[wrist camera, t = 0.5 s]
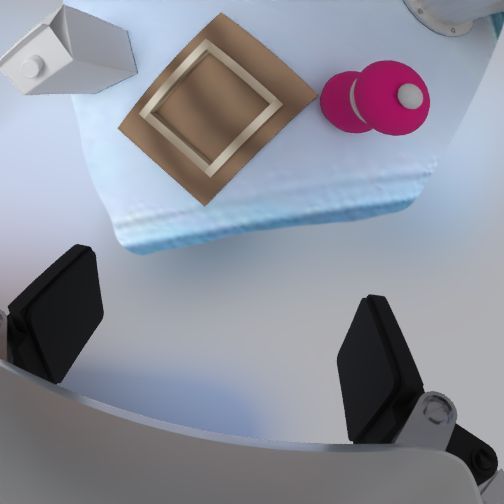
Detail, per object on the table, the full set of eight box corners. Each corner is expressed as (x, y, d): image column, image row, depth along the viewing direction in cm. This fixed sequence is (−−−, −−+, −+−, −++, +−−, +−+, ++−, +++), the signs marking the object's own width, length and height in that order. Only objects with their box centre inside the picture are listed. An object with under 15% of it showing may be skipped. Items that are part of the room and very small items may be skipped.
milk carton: (85, 53, 31) (-11, 39, 13) (127, 30, 29) (38, -5, 12) (95, 94, 33) (-5, 99, 16) (138, 73, 32) (46, 56, 15)
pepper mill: (382, 104, 32) (475, 105, 14) (346, 142, 35) (417, 172, 17) (340, 64, 31) (406, 23, 13) (304, 103, 33) (340, 91, 15)
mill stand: (222, 15, 29) (218, 6, 26) (316, 95, 33) (321, 93, 30) (121, 127, 36) (109, 129, 33) (206, 203, 40) (201, 211, 37)
